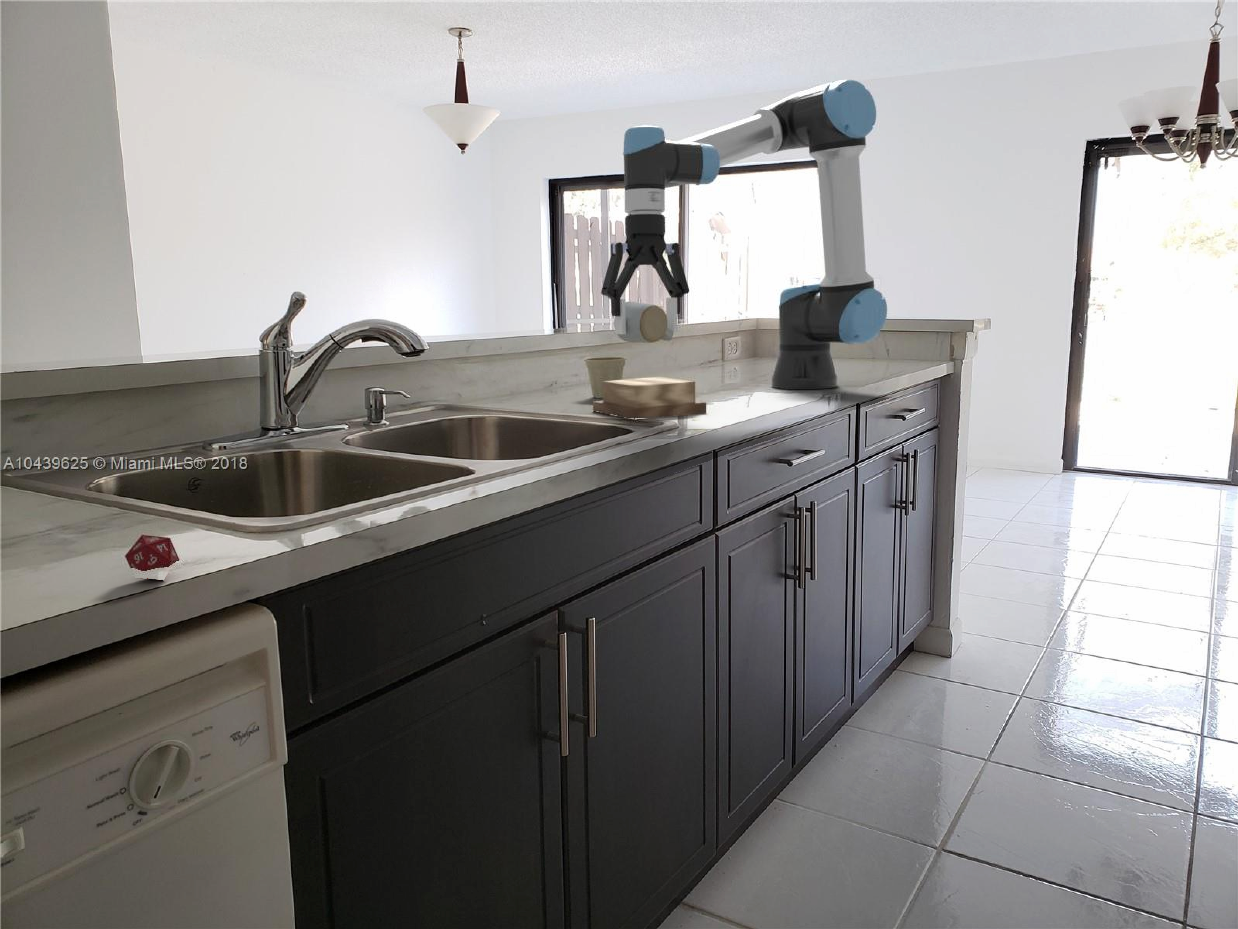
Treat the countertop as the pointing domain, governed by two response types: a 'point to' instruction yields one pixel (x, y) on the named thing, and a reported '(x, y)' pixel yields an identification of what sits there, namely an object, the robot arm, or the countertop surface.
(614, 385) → the pedestal block
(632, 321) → the ceramic mug
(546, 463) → the countertop surface
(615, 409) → the board
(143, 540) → the dice
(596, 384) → the flower pot
